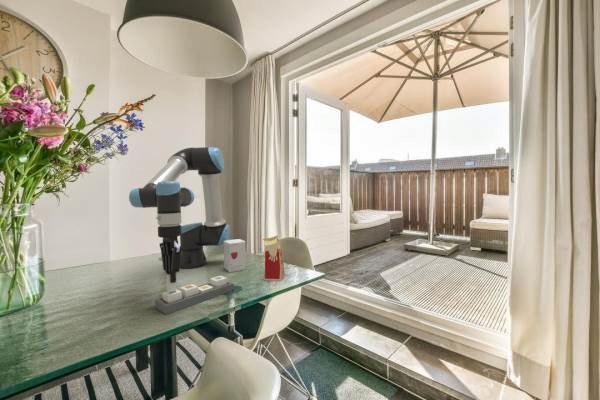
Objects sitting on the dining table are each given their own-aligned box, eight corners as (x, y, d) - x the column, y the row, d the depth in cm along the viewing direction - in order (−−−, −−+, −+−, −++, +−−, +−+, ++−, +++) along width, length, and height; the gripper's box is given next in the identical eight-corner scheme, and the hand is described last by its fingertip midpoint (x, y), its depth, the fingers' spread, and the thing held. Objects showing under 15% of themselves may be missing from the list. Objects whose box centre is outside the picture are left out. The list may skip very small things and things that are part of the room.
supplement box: (229, 272, 132) (228, 243, 131) (223, 268, 139) (223, 240, 138) (246, 269, 137) (245, 241, 136) (240, 265, 144) (239, 238, 143)
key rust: (180, 294, 98) (179, 287, 98) (192, 290, 102) (192, 283, 102) (186, 297, 95) (185, 290, 95) (198, 293, 99) (198, 286, 99)
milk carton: (284, 274, 127) (283, 233, 126) (281, 281, 118) (280, 237, 117) (266, 274, 128) (265, 233, 127) (261, 280, 119) (260, 237, 118)
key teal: (162, 299, 93) (162, 292, 93) (176, 295, 97) (175, 288, 97) (168, 303, 90) (168, 295, 90) (182, 298, 94) (182, 291, 94)
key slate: (210, 284, 108) (210, 278, 107) (220, 281, 111) (220, 275, 111) (216, 287, 104) (216, 280, 104) (227, 284, 108) (226, 277, 108)
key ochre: (195, 294, 103) (195, 287, 103) (207, 290, 107) (206, 284, 106) (202, 297, 100) (202, 290, 100) (213, 293, 103) (213, 286, 103)
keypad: (155, 307, 94) (154, 299, 93) (221, 285, 114) (221, 279, 114) (165, 314, 88) (165, 306, 88) (233, 290, 108) (233, 283, 108)
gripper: (151, 225, 94) (153, 290, 95) (166, 227, 86) (168, 299, 86) (172, 222, 100) (174, 284, 101) (188, 225, 91) (191, 292, 92)
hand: (171, 291), depth 93 cm, fingers closed
